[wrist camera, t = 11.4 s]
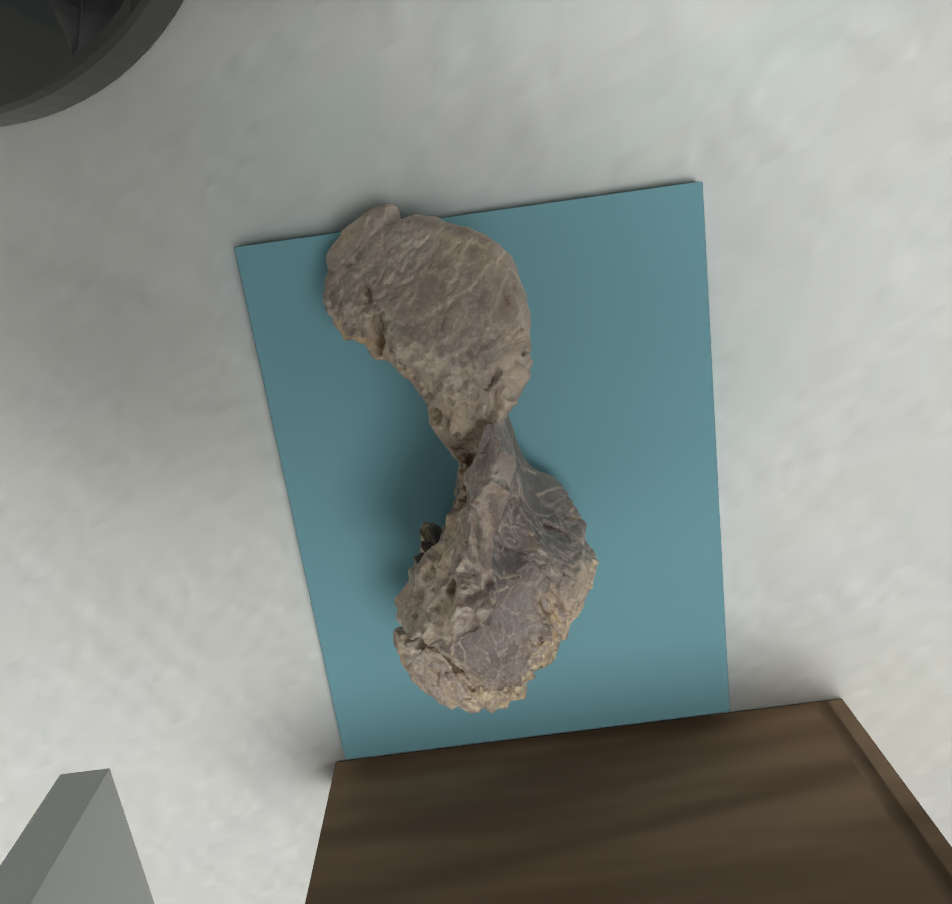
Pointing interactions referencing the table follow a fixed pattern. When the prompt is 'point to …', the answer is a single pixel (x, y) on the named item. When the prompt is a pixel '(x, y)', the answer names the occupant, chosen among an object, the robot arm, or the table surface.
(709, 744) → the walnut cubby
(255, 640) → the table surface
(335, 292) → the rock
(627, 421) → the teal rubber mat
